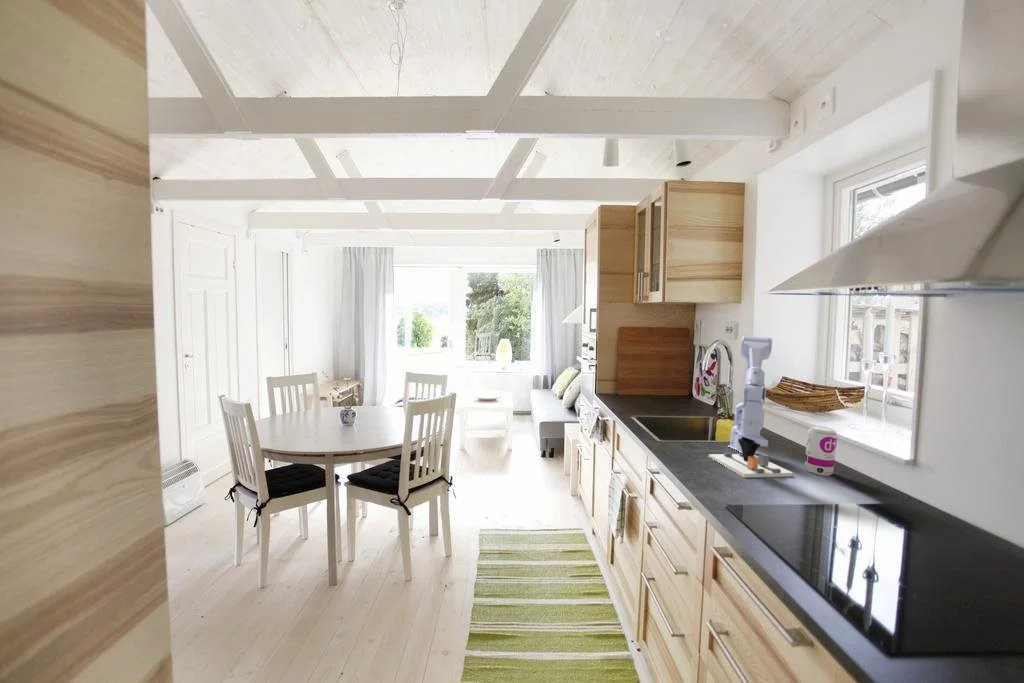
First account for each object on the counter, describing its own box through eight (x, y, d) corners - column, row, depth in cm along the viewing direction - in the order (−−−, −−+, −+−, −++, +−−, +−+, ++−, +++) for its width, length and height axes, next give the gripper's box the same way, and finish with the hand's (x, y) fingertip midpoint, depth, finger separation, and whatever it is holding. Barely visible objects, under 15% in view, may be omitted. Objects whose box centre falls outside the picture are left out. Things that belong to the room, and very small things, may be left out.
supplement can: (838, 477, 154) (843, 432, 153) (813, 475, 154) (818, 431, 153) (822, 468, 162) (827, 426, 161) (798, 467, 162) (803, 424, 161)
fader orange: (747, 466, 155) (748, 455, 155) (752, 466, 155) (753, 455, 155) (752, 469, 153) (753, 458, 152) (757, 469, 153) (758, 458, 153)
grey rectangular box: (757, 463, 158) (758, 453, 158) (763, 463, 159) (764, 453, 159) (762, 466, 156) (763, 455, 156) (768, 466, 157) (769, 455, 156)
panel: (708, 457, 168) (708, 451, 167) (752, 457, 171) (753, 450, 171) (743, 477, 149) (744, 470, 149) (792, 476, 152) (793, 469, 152)
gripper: (726, 415, 161) (723, 454, 163) (755, 427, 147) (751, 469, 148) (744, 415, 163) (741, 453, 164) (775, 427, 149) (771, 468, 150)
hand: (747, 461), depth 156 cm, fingers closed
